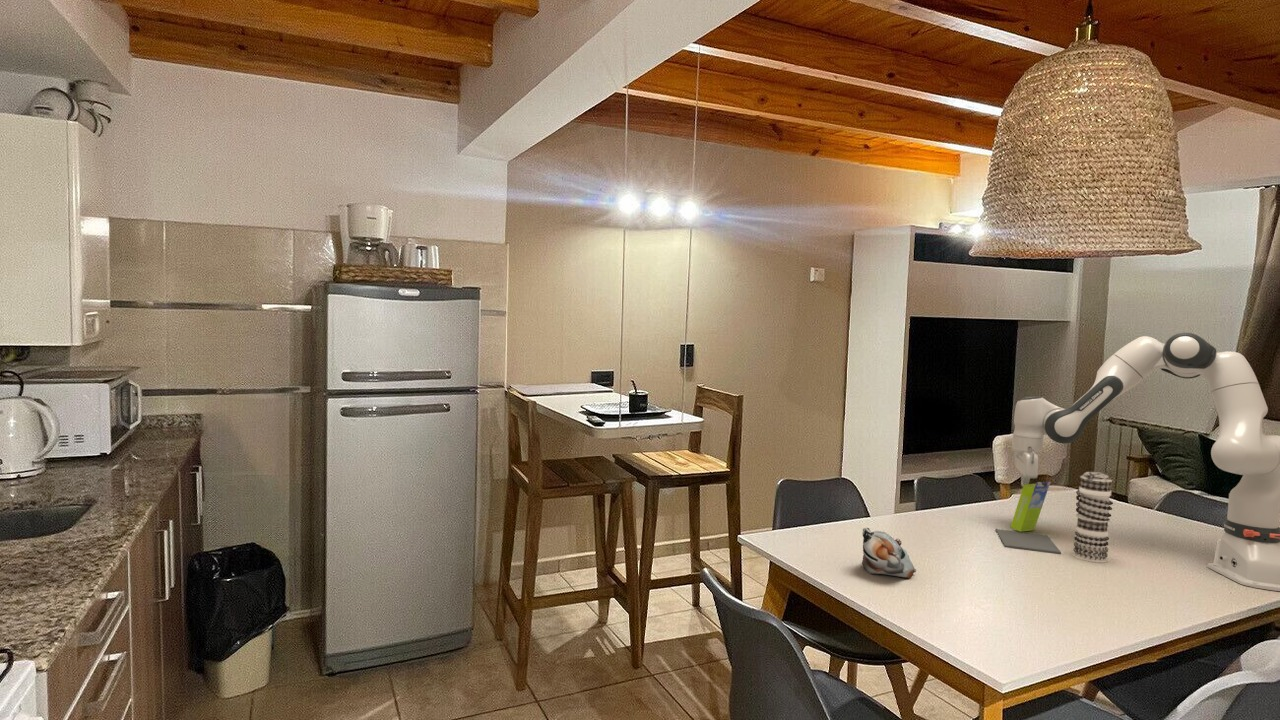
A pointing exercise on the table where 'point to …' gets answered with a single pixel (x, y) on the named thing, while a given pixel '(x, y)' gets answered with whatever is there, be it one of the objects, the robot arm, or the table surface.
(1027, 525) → the box
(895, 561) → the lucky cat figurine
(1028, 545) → the mat
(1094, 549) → the decorative candle
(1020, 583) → the table surface
